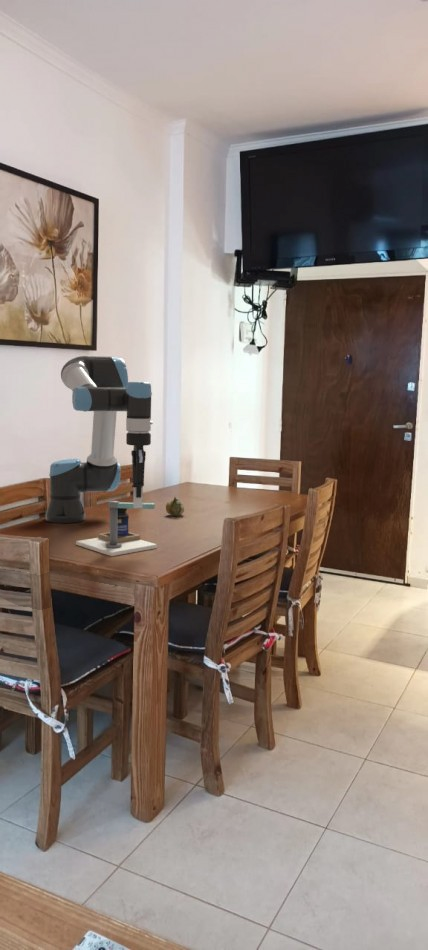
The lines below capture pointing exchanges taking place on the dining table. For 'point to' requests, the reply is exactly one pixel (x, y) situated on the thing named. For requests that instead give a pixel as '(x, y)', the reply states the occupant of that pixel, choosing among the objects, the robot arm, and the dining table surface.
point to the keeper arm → (129, 505)
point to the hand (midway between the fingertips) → (137, 507)
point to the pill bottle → (122, 523)
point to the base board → (116, 551)
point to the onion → (175, 507)
